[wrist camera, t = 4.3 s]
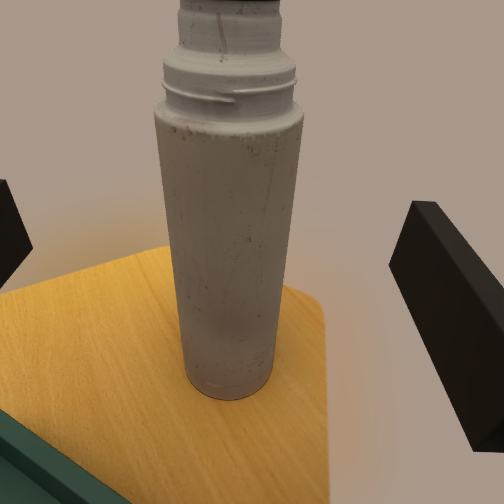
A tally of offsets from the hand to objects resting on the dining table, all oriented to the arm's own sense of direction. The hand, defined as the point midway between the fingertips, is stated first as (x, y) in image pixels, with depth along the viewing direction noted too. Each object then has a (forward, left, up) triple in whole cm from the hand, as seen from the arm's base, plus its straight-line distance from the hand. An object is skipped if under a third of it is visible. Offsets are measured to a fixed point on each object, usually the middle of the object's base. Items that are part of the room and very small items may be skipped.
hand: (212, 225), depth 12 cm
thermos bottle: (+4, -9, -21) cm, 23 cm away
